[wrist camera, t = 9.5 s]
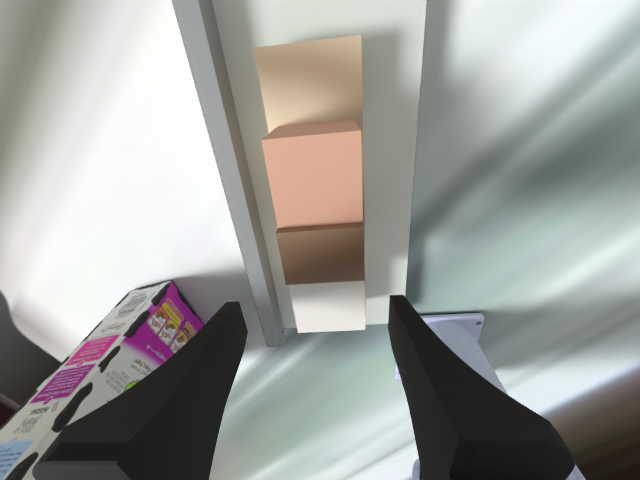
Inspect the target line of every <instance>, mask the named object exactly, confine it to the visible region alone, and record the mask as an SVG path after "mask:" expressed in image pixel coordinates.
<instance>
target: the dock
mask: <svg viewBox="0 0 640 480" xmlns="http://www.w3.org/2000/svg"><path fill="white" fill-rule="evenodd" d="M172 3H173V7H174V10H175V14H176V18H177V21H178V25H179V28H180V32H181V36H182V39H183V43H184V47H185V50H186V54H187V58H188V61H189V65H190V68H191V72H192V76H193V79H194V83H195V87H196V90H197V94H198V98H199V101H200V105H201V108H202V112H203V116H204V119H205V123H206V127H207V130H208V134H209V137H210V141H211V145H212V148H213V152H214V156H215V159H216V163H217V167H218V170H219V174H220V177H221V181H222V185H223V188H224V192H225V196H226V199H227V203H228V207H229V210H230V214H231V217H232V221H233V225H234V228H235V232H236V236H237V239H238V243H239V246H240V250H241V254H242V257H243V261H244V265H245V268H246V272H247V276H248V279H249V283H250V286H251V290H252V294H253V297H254V301H255V305H256V308H257V312H258V316H259V319H260V323H261V326H262V330H263V334H264V337H265V341H266V345H267V347H274V346H281V342H282V337H283V332H284V328H297V325H296V320H295V315H294V310H293V304H292V299H291V294H290V289H289V285H286V283H285V278H284V273H283V267H282V262H281V257H280V252H279V247H278V242H277V237H276V231H277V229H278V226H277V221H276V215H275V210H274V205H273V200H272V194H271V189H270V184H269V178H268V173H267V168H266V163H265V157H264V152H263V147H262V141H261V140H262V139H263V138H264V137H265V136H267V135H268V134H269V131H268V126H267V120H266V114H265V109H264V103H263V97H262V91H261V86H260V80H259V74H258V68H257V63H256V57H255V51H254V48H256V47H264V46H273V45H281V44H289V43H298V42H306V41H314V40H323V39H331V38H339V37H347V36H356V35H361V44H362V101H363V158H364V216H365V273H366V321H365V325H368V324H388V319H389V300H390V295H404V296H405V291H406V277H407V263H408V250H409V236H410V222H411V208H412V195H413V181H414V167H415V154H416V140H417V126H418V112H419V99H420V85H421V71H422V58H423V44H424V30H425V16H426V3H427V0H172Z"/></svg>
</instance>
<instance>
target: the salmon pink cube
mask: <svg viewBox="0 0 640 480" xmlns="http://www.w3.org/2000/svg"><path fill="white" fill-rule="evenodd" d="M261 141H262V147H263V152H264V157H265V163H266V168H267V173H268V178H269V184H270V189H271V194H272V200H273V205H274V210H275V215H276V221H277V226H278V228H288V227H302V226H316V225H330V224H344V223H358V222H363V196H362V146H361V129H360V128H359V126H358V125H357V124H356V122H355V121H354V119H349V120H339V121H328V122H318V123H308V124H298V125H288V126H278V127H276V128H275V129H274V130H273V131H271V132H270V133H269V134H268V135H267V136H265V137H264V138H263V139H262V140H261Z"/></svg>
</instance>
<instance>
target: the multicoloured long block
mask: <svg viewBox="0 0 640 480" xmlns="http://www.w3.org/2000/svg"><path fill="white" fill-rule="evenodd" d="M254 51H255V57H256V63H257V68H258V74H259V80H260V86H261V91H262V97H263V103H264V109H265V114H266V120H267V126H268V131H269V133H270V132H271V131H273V130H274V129H275V128H276V127H278V126H288V125H298V124H308V123H318V122H328V121H339V120H349V119H354V121H355V122H356V124H357V125H358V126H359V128H360V129H361V146H362V196H363V222H358V223H344V224H330V225H316V226H302V227H288V228H278V229H277V231H276V237H277V242H278V247H279V252H280V257H281V262H282V267H283V273H284V278H285V283H286V285H295V284H313V283H330V282H348V281H364V287H365V321H366V273H365V216H364V158H363V101H362V44H361V35H356V36H347V37H339V38H331V39H323V40H314V41H306V42H298V43H289V44H281V45H273V46H264V47H256V48H254Z"/></svg>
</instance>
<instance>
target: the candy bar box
mask: <svg viewBox="0 0 640 480" xmlns="http://www.w3.org/2000/svg"><path fill="white" fill-rule="evenodd" d="M203 326H204V324H203V323H202V322H201V320H200V319H199V318H198V316H197V315H196V314H195V312H194V311H193V310H192V308H191V307H190V306H189V304H188V303H187V302H186V300H185V299H184V298H183V296H182V295H181V294H180V292H179V291H178V290H177V288H176V287H175V285H174V284H173V283H172V281H166V282H162V283H159V284H156V285H151V286H147V287H142V288H138V289H135V290H132V291H130V292H129V293H128V294H127V295H126V296H125V297H124V298H123V299H122V300H121V301H120V302H119V303H118V304H117V305H116V306H115V307H114V308H113V309H112V310H111V312H110V313H109V314H108V315H107V316H106V317H105V318H104V319H103V320H102V321H101V322H100V323H99V324H98V325H97V326H96V327H95V328H94V329H93V330H92V332H91V333H90V334H89V335H88V336H87V337H86V338H85V339H84V340H83V341H82V342H81V343H80V345H79V346H77V347H76V348H75V349H74V350H73V352H72V353H71V354H70V355H69V356H68V357H67V358H66V359H65V360H64V361H63V362H62V363H61V364H60V365H59V367H58V368H57V369H56V370H55V371H54V372H53V373H52V374H51V375H50V376H49V377H48V379H46V380H45V381H44V382H43V383H42V384H41V385H40V386H39V388H38V389H37V390H36V391H35V392H34V393H33V394H32V395H31V396H30V397H29V398H28V399H27V400H26V401H25V403H23V404H22V405H21V406H20V407H19V409H18V410H17V411H16V412H15V413H14V414H13V415H12V416H11V417H10V418H9V419H8V420H7V421H6V422H5V423H4V424H3V425H2V426H1V427H0V480H35V479H34V477H33V475H32V470H33V467H34V465H35V464H36V463H37V462H38V460H39V459H40V458H41V456H42V455H43V454H44V453H45V451H46V450H47V449H48V447H49V446H50V445H51V444H52V442H53V441H54V440H55V438H56V437H57V436H58V435H59V433H60V432H61V431H62V430H63V428H64V427H65V426H67V425H69V424H71V423H73V422H74V421H76V420H78V419H80V418H81V417H83V416H85V415H87V414H89V413H90V412H92V411H94V410H96V409H97V408H99V407H101V406H102V405H104V404H106V403H107V402H109V401H110V400H112V399H114V398H115V397H117V396H118V395H120V394H121V393H123V392H124V391H126V390H127V389H129V388H130V387H132V386H133V385H135V384H136V383H137V382H139V381H140V380H142V379H143V378H144V377H146V376H147V375H149V374H150V373H151V372H153V371H154V370H155V369H157V368H158V367H159V366H160V365H162V364H163V363H164V362H165V361H166V360H168V359H169V358H170V357H171V356H172V355H174V354H175V353H176V352H177V351H178V350H179V349H180V348H181V347H182V346H183V345H185V344H186V343H187V342H188V341H189V340H190V339H191V338H192V337H193V336H194V335H195V334H196V333H197V332H198V331H199V330H200V329H201V328H202V327H203Z"/></svg>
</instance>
